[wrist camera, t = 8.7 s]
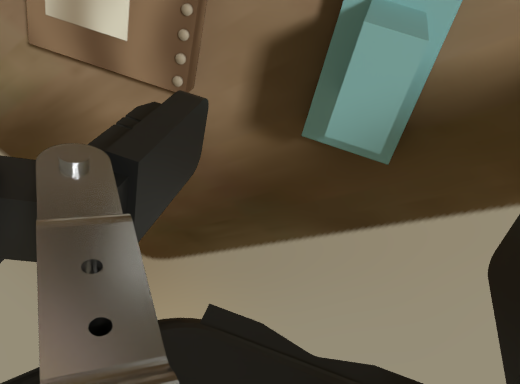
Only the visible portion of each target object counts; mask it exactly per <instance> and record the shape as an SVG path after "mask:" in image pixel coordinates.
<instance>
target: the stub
mask: <svg viewBox="0 0 520 384" xmlns="http://www.w3.org/2000/svg"><path fill="white" fill-rule="evenodd" d="M461 2H462V0H344V1H343V4H342V7H341V10H340V14H339V17H338V20H337V23H336V26H335V30H334V33H333V36H332V39H331V43H330V46H329V49H328V52H327V55H326V59H325V62H324V65H323V68H322V71H321V75H320V78H319V81H318V84H317V87H316V91H315V94H314V97H313V100H312V103H311V107H310V110H309V113H308V116H307V119H306V123H305V126H304V129H303V132H302V135H301V136H303V137H306V138H309V139H312V140H315V141H318V142H321V143H324V144H327V145H330V146H333V147H336V148H339V149H342V150H345V151H348V152H351V153H354V154H357V155H360V156H363V157H366V158H369V159H372V160H375V161H378V162H381V163H384V164H387V165H388V164H389V162H390V160H391V157H392V155H393V153H394V151H395V149H396V146H397V144H398V142H399V140H400V137H401V135H402V133H403V131H404V129H405V126H406V124H407V122H408V120H409V118H410V115H411V113H412V111H413V109H414V106H415V104H416V102H417V100H418V98H419V95H420V93H421V91H422V89H423V87H424V84H425V82H426V80H427V78H428V75H429V73H430V71H431V69H432V67H433V64H434V62H435V60H436V58H437V55H438V53H439V51H440V49H441V47H442V44H443V42H444V40H445V38H446V36H447V33H448V31H449V29H450V27H451V24H452V22H453V20H454V18H455V16H456V13H457V11H458V9H459V7H460V5H461Z"/></svg>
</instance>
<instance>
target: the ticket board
mask: <svg viewBox="0 0 520 384" xmlns="http://www.w3.org/2000/svg"><path fill="white" fill-rule="evenodd" d="M26 3H27V20H28V37H29V44H32V45H35V46H38V47H41V48H44V49H47V50H50V51H53V52H56V53H59V54H62V55H65V56H68V57H71V58H74V59H77V60H80V61H83V62H86V63H89V64H92V65H95V66H98V67H101V68H104V69H107V70H110V71H113V72H116V73H119V74H122V75H125V76H128V77H131V78H134V79H137V80H140V81H143V82H146V83H149V84H152V85H155V86H158V87H161V88H164V89H167V90H170V91H173V92H177V91H178V90H181V91H184V92H187V93H188V92H189V91H190V90H192V89H193V88H194V82H195V76H196V69H197V63H198V56H199V49H200V43H201V36H202V30H203V23H204V17H205V10H206V3H207V0H26Z"/></svg>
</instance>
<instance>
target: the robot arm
mask: <svg viewBox="0 0 520 384" xmlns="http://www.w3.org/2000/svg"><path fill="white" fill-rule="evenodd" d="M207 113H208V100H207V99H206V98H203V97H200V96H197V95H194V94H191V93H187V92H184V91H181V90H178V91H177V92H176V93H174V94H173V95H172V96H171V97H169V98H168V99H167V100H166V101H165V102H163V103H162V104H160V103H157V102H152V103H148V104H145V105H142V106H138V107H136V108H135V109H134V110H132V111H131V112H130V113H128V114H127V115H126V117H123V118H122V119H121V120H119V121H118V122H117V123H116V125H113V126H111V127H110V128H109V129H107V130H106V131H105V132H104V133H102V134H101V135H100V136H98V137H97V138H96V139H94V140H93V141H92V142H90V143H89V144H88V145H85V144H74V143H71V144H61V145H56V146H53V147H50V148H48V149H46V150H44V151H43V152H41V153H40V154H39V156H38V157H37V159H36V160H30V159H23V158H15V157H7V156H0V263H1V262H2V261H3V260H4V259H11V260H21V261H31V262H37V283H38V318H39V319H38V322H39V358H40V359H39V361H40V367H38V368H36V369H34V370H31V371H29V372H26V373H24V374H22V375H19V376H17V377H15V378H12V379H10V380H8V381H5V382H3V383H1V384H423V383H420V382H417V381H415V380H412V379H409V378H407V377H404V376H401V375H399V374H396V373H393V372H390V371H388V370H385V369H382V368H380V367H377V366H375V365H368V364H361V363H355V362H348V361H341V360H334V359H327V358H321V357H316V356H314V355H312V354H310V353H308V352H306V351H305V350H303V349H302V348H300V347H298V346H297V345H295V344H294V343H292V342H291V341H289V340H287V339H286V338H284V337H283V336H281V335H279V334H278V333H276V332H275V331H273V330H271V329H270V328H268V327H267V326H265V325H264V324H262V323H260V322H257V321H254V320H252V319H249V318H246V317H244V316H241V315H238V314H236V313H233V312H230V311H228V310H225V309H222V308H219V307H217V306H214V305H212V304H209V306H208V308H207V310H206V312H205V314H204V316H203V318H202V319H194V318H170V319H162V320H157V317H156V313H155V309H154V305H153V301H152V297H151V293H150V289H149V285H148V281H147V277H146V273H145V269H144V265H143V261H142V257H141V253H140V249H139V245H138V242H139V241H140V240H141V238H142V237H143V236H144V235H145V233H146V232H147V231H148V230H149V228H150V227H151V226H152V225H153V223H154V222H155V221H156V220H157V218H158V217H159V216H160V215H161V213H162V212H163V211H164V210H165V208H166V207H167V206H168V205H169V203H170V202H171V201H172V200H173V198H174V197H175V196H176V195H177V193H178V192H179V191H180V190H181V189H182V187H183V186H184V185H185V184H186V182H187V181H188V180H189V179H190V177H191V176H192V175H193V173H194V172H195V170H196V168H197V165H198V163H199V160H200V156H201V151H202V145H203V139H204V132H205V126H206V120H207ZM488 280H489V286H490V292H491V297H492V303H493V309H494V315H495V320H496V326H497V331H498V338H499V343H500V349H501V355H502V361H503V365H504V372H505V378H506V383H507V384H520V215H519V216H518V218H517V219H516V221H515V222H514V224H513V225H512V227H511V228H510V230H509V231H508V233H507V234H506V236H505V237H504V239H503V240H502V242H501V244H500V245H499V246H498V248H497V249H496V251H495V253H494V254H493V256H492V258H491V261H490V264H489V269H488Z"/></svg>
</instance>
